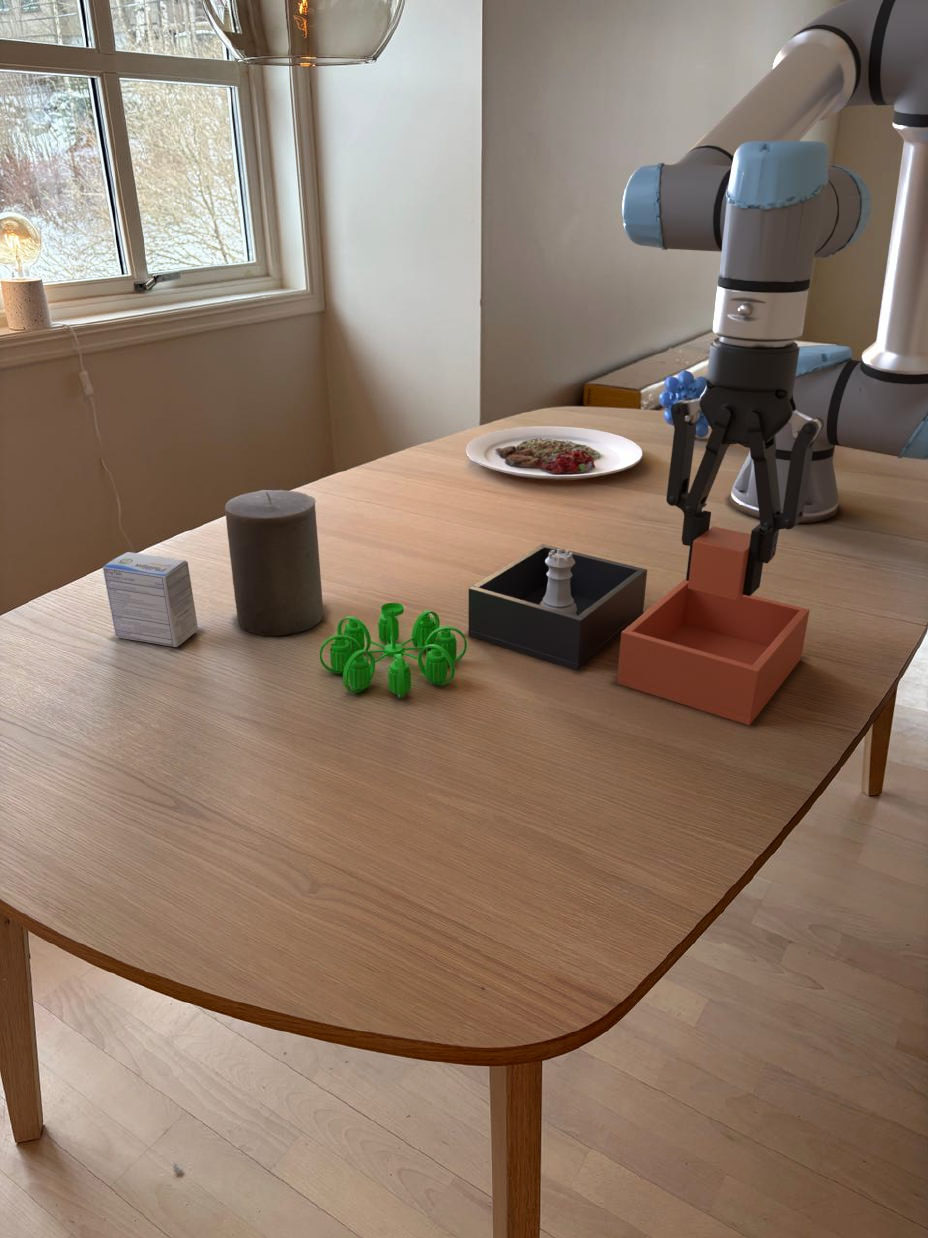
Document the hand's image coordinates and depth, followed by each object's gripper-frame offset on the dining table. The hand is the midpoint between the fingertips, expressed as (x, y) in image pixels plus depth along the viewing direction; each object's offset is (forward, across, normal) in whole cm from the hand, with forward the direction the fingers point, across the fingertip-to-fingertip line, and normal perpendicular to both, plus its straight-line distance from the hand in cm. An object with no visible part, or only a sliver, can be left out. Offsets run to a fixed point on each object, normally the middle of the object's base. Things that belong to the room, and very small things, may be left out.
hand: (722, 583), depth 93 cm
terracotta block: (0, 0, 0) cm, 0 cm away
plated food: (+10, -50, +55) cm, 75 cm away
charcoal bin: (+10, -18, 0) cm, 21 cm away
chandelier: (+10, -27, -18) cm, 34 cm away
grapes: (+10, -37, +81) cm, 90 cm away
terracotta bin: (+10, 0, 0) cm, 10 cm away
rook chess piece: (+9, -18, 0) cm, 20 cm away
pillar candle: (+10, -45, -16) cm, 49 cm away
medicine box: (+10, -53, -27) cm, 60 cm away
